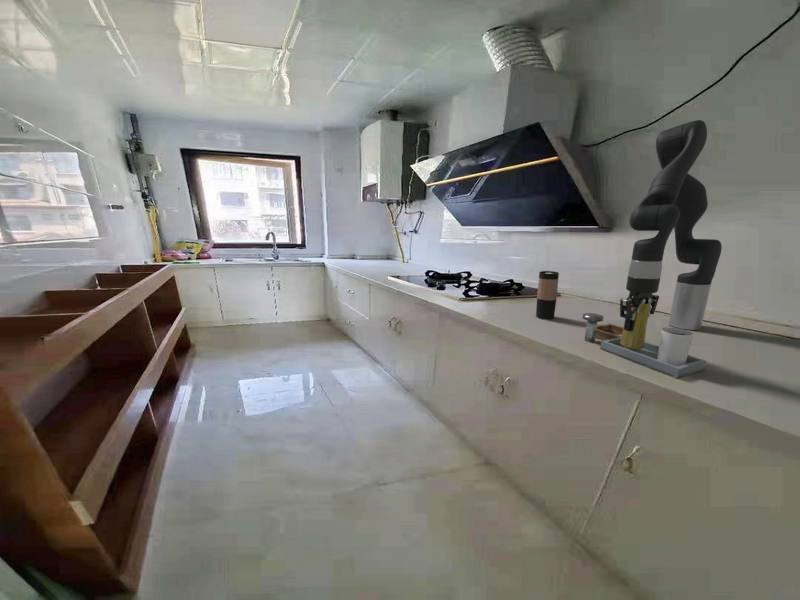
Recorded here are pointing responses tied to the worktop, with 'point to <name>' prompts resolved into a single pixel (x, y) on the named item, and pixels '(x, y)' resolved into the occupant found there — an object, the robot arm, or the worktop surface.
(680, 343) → the white cup
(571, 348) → the worktop surface
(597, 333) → the holder
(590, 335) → the knob post
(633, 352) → the tray
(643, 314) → the vase
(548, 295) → the travel mug
